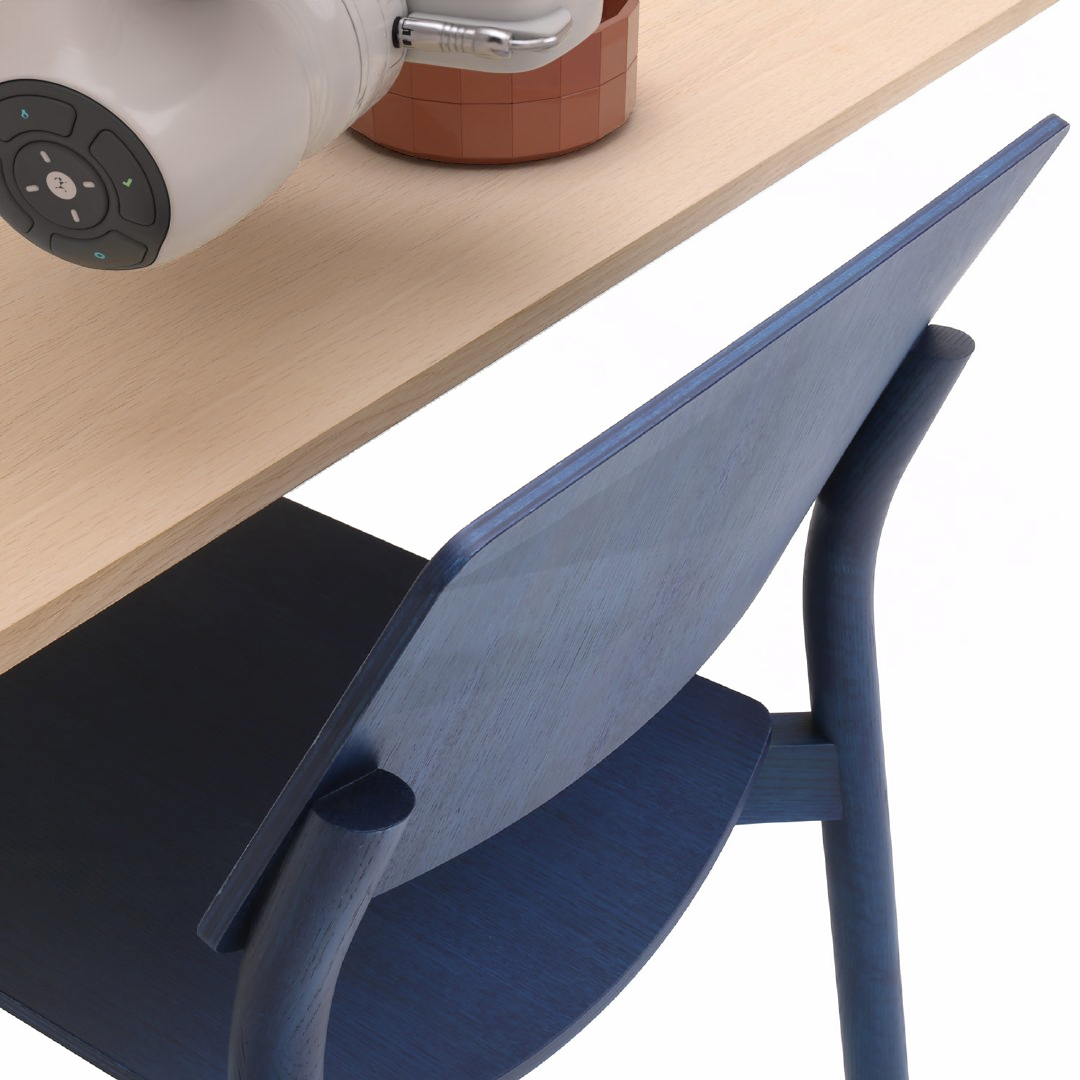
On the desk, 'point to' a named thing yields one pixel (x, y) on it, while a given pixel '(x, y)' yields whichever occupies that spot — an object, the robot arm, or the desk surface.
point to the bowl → (514, 102)
